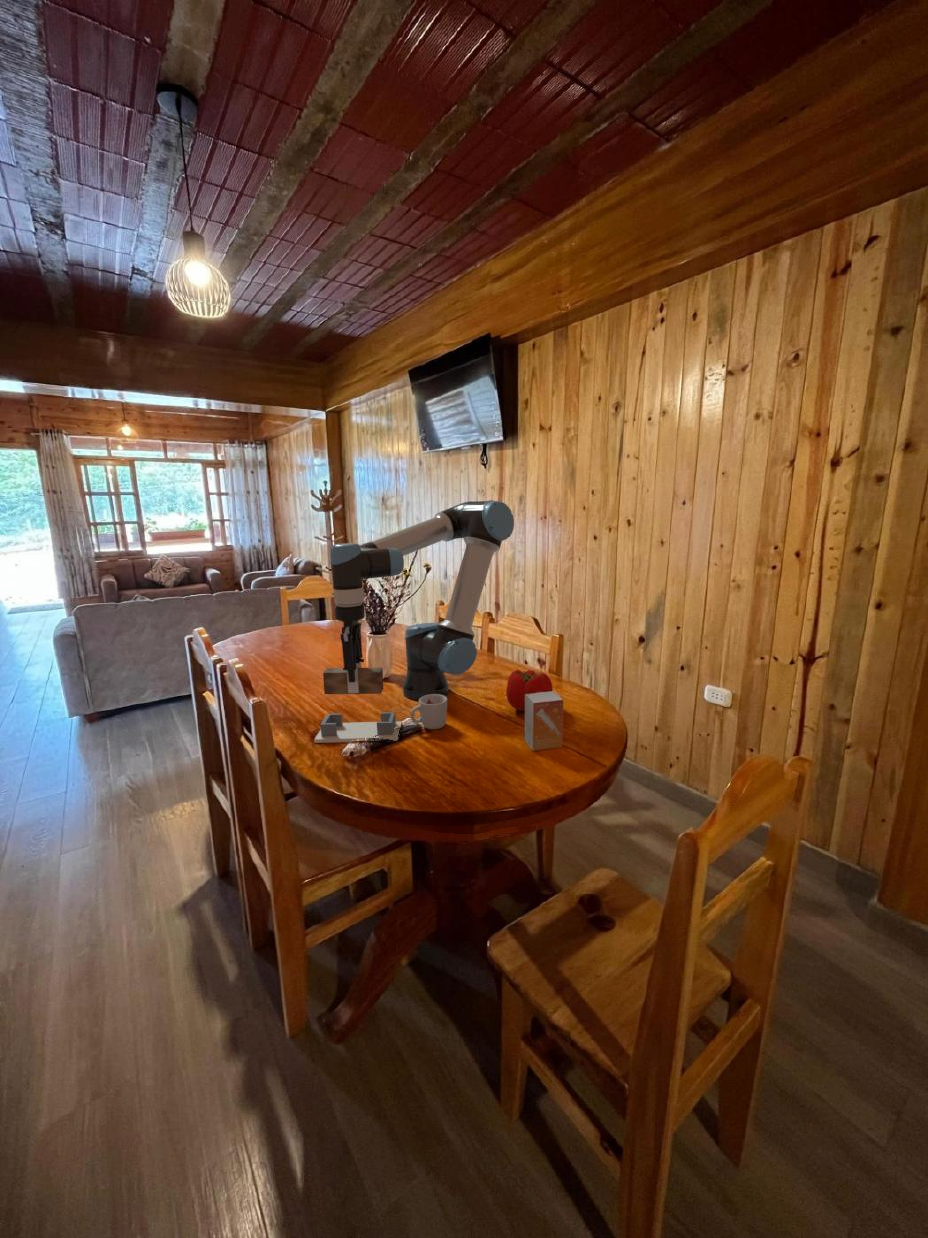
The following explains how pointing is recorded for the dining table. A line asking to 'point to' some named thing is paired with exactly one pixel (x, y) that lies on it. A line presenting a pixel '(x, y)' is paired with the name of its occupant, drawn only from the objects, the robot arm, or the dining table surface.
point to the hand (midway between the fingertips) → (355, 689)
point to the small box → (543, 720)
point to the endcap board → (357, 729)
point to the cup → (431, 711)
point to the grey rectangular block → (367, 680)
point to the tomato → (525, 686)
